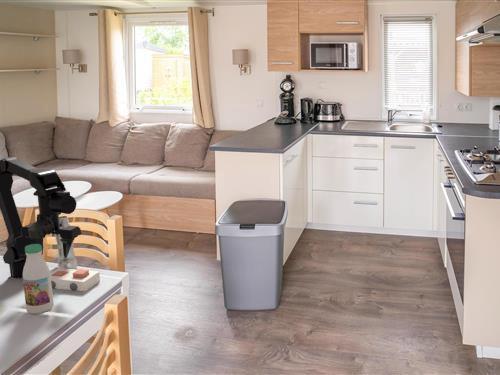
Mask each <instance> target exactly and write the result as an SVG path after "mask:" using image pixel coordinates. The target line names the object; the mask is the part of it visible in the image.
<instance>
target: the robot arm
mask: <svg viewBox="0 0 500 375" xmlns="http://www.w3.org/2000/svg"><path fill="white" fill-rule="evenodd" d="M14 175H15V176H17V177H19V178H22V179H24V180H25V181H28V182H29V185H30V186H31V187H32V188H34V189H35V191H34V193H32V195H33V196H36V197H37V203H38V214H36V220H35V222H30V223H28V224H27V225H24V226H23V224H22V221H21V218H20V214H19V211H18V208H17V206H16V205H17V204H16V202H15V199H14V195H13V193H12V188H13V183H14V179H13V176H14ZM76 208H77V200H76V199H75V197H74V196H71V192H70V191H67V188H66V187H65V184H64V182H63V181H62V180H61V178H60V176H59V175H58V173H57V172H56V171H55V170H54V169H49V168H39V167H38V168H37V167H35V166H33V165H31V164H29V163H26V162H25V161H22V160H20V159H18V158H17V157H15V156H9V157H3V158H1V159H0V213H1V215H2V219H3V221H4V224H5V228H6V230H7V234H8V236H7V239H6V243H5V244H6V249H7V250H6V251H5V253H4V255H3V256H2V260H3V262H4V264H7V265H8V266H9V275H10V276H9V277H7V280H9V279H11V278H12V279H13V278H14V279H23V269H24V266H25V263H26V258H27V255H26V252H25V247H26V246H28V245H31V244H40V245H41V246H42V256H43V255H44V239H45V238H46V236H47V235H55V234H60V237H61V238H62V239H60V241H61V242H62V243H63V253H64V257H65V258H66V257H67V256H68V253H69V250H70V248H71V245H72V243H73V244H74V241H75V239H76V238H77V237H78V236H81V235H82V230H81V229H82V228H81V227H79V226H78V225H70V226H67V227H65V228H63V229H61V228H60V227H62V223H59V217H60V216H61V215H62V214H65V215H71V214H73V213H74V212H75V210H76Z"/></svg>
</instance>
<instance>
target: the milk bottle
mask: <svg viewBox="0 0 500 375" xmlns="http://www.w3.org/2000/svg"><path fill="white" fill-rule="evenodd" d="M25 252H26V255H27V258H26V263H25V266H24V269H23V278H22V283H23V291H24V292H23V293H24V299H25V300H24V301H25V310H26V311H27V314H28V313H29V314H31V315H40V314H45V313H48V312H49V311H48V310H51V309H52V308H53V307H54V306H55V305H54V294H53V288H52V284H51V276H50V271H51V270H50V268H49V265H48V264H47V262H46V261H45V259H44V256H43V255H42V246H41V245H40V244H31V245H28V246H26V247H25Z"/></svg>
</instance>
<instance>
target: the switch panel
mask: <svg viewBox="0 0 500 375" xmlns="http://www.w3.org/2000/svg"><path fill="white" fill-rule="evenodd" d="M77 270H78V269H64V268H58V266H57V267H54V268H52V269H51V270H49V271H50V276H51V284H52V289H57V290H58V289H59V290H67V291H68V290H70V291H73V292H74V291H77V292H78V291H79V292H86V291H88V290H89V289H90V288H92V287H93V286H95V285H97V284H98V283H99V282H100V281H101V276H100V271H98V270H97V271H95V270H89V275H88V276H86V277H85V278H73V273H74V272H75V271H77ZM57 271H67V272H68V273H67V274H65V275H63V276H52V274H54V273H56V272H57Z"/></svg>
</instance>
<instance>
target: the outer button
mask: <svg viewBox="0 0 500 375" xmlns="http://www.w3.org/2000/svg"><path fill="white" fill-rule="evenodd" d="M76 270H77V271H75V272H74V273H73V278H85V277H86V276H88V275H89V271H90V270H89V269H81V268H79V269H76Z"/></svg>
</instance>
